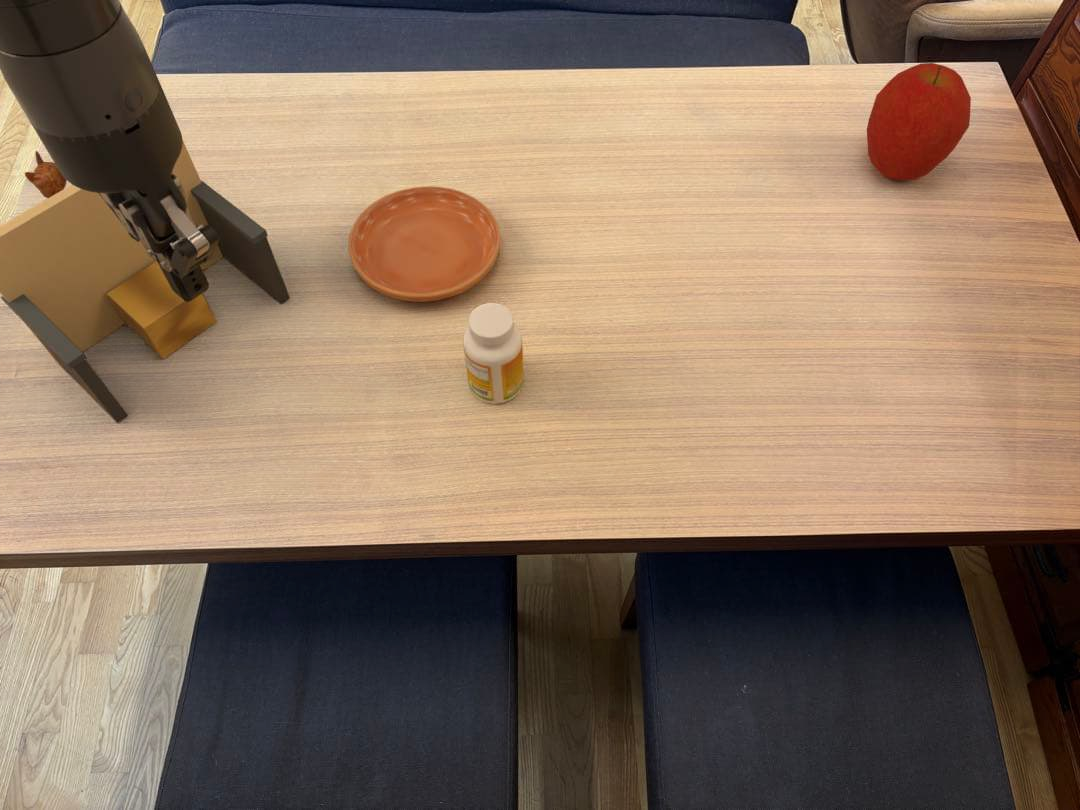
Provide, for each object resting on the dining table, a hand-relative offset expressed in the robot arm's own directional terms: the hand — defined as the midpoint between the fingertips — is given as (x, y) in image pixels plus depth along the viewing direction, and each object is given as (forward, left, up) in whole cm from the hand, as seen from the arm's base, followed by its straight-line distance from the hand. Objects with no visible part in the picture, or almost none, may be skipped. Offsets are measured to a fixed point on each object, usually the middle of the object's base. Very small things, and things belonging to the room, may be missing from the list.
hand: (192, 291), depth 64 cm
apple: (+71, -27, -20) cm, 79 cm away
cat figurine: (+7, +35, -20) cm, 41 cm away
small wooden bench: (+1, +16, -20) cm, 26 cm away
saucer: (+25, +4, -20) cm, 32 cm away
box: (+2, +17, -20) cm, 26 cm away
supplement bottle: (+18, -13, -20) cm, 30 cm away
